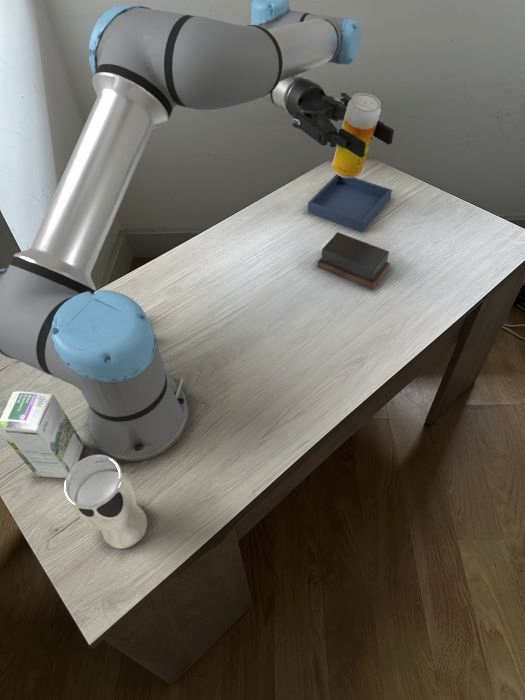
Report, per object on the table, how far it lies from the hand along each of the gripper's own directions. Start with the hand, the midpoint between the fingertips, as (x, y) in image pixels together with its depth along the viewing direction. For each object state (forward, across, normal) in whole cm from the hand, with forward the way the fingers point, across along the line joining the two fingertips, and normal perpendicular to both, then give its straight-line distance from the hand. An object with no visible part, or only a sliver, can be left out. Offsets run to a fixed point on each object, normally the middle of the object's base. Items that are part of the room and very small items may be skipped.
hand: (377, 143), depth 95 cm
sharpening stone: (+8, +11, -18) cm, 23 cm away
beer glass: (+28, +70, -18) cm, 77 cm away
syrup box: (+13, +73, -18) cm, 77 cm away
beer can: (-7, 0, -9) cm, 11 cm away
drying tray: (-7, -1, -18) cm, 20 cm away
